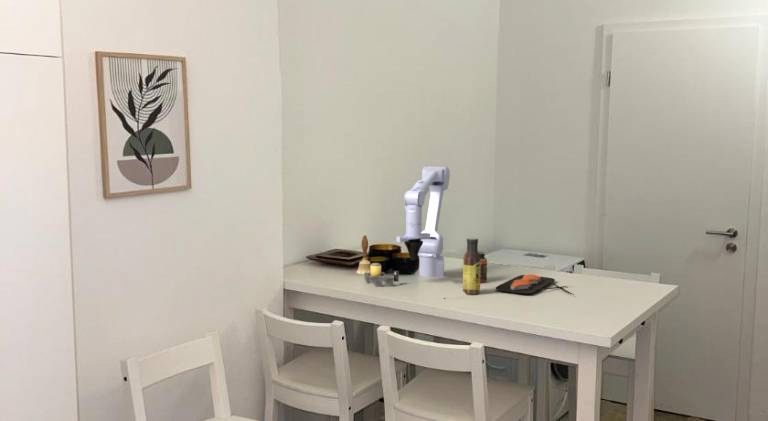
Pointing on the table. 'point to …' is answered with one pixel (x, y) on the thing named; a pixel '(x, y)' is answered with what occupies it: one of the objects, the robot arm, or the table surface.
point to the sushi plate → (527, 284)
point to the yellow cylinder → (375, 269)
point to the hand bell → (364, 259)
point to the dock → (379, 279)
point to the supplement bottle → (483, 267)
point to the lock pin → (396, 279)
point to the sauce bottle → (471, 268)
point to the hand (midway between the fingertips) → (413, 259)
